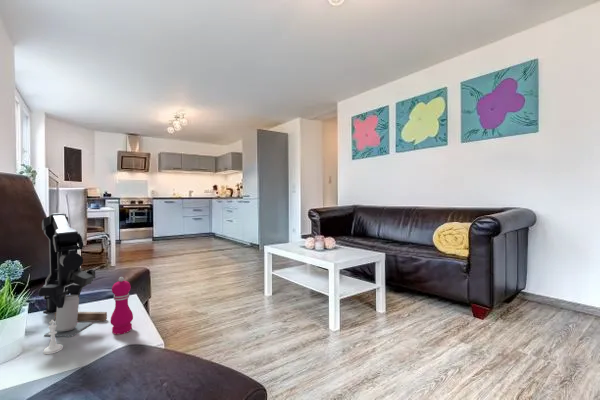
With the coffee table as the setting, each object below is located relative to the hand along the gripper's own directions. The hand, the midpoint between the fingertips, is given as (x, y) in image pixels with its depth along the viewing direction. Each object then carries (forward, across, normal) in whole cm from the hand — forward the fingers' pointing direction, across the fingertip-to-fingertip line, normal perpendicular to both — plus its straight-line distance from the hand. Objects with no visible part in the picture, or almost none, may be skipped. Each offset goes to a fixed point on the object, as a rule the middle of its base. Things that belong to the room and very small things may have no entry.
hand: (68, 307), depth 112 cm
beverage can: (+8, -2, 0) cm, 8 cm away
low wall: (+9, +9, +2) cm, 12 cm away
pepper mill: (+9, 0, -20) cm, 22 cm away
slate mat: (+9, 0, 0) cm, 9 cm away
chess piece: (+9, -14, -6) cm, 17 cm away
